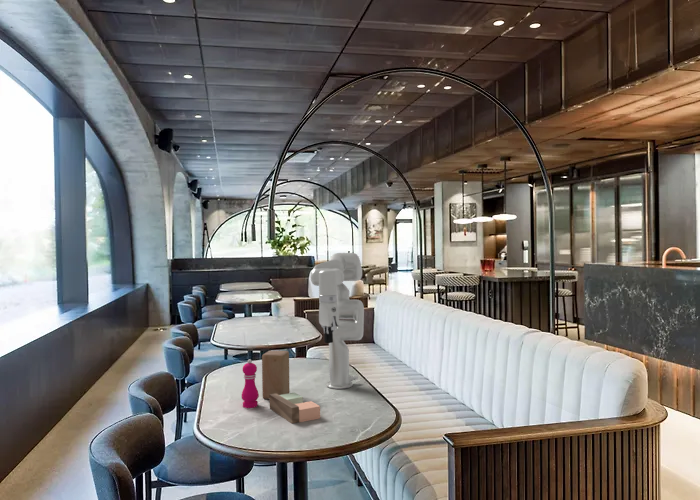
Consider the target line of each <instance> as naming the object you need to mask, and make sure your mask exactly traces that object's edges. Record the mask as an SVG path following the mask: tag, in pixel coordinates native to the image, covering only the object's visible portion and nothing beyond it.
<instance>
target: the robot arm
mask: <svg viewBox="0 0 700 500" xmlns="http://www.w3.org/2000/svg"><path fill="white" fill-rule="evenodd" d="M362 277H363V268H362V263H361V259H360V257H359V256H358V254H357V253H355V252H337V253H333V254H332V255H331V256H330V258H329V259H328V260H326V261H324V262H321V263H318V264H316V265H314V267H313V269H312V270H311V273H310V281H311V284H312V285H313V286H316V287H317V286H318V289H319V290H318V300H319V302H318V303H319V307H318V323H319V324H320V326H321V328H322V329H323V334H324V337H323V338H324V340H323V341H324V343H325V344H328V349H329V350H328V352H329V353H328V359H329V367H328V368H329V369H328V370H329V371H328V372H329V381H327V382H326V387H327V388H329V389H333V390H334V389H335V390H336V389H337V390H343V389H349V388H352V387H353V384H354V383H353V381H356V380H358V379H359V376H358V375H350V349H349V347H348V345H347V344H346V342H345V341H360V340H362V339H363V337H364V324H365V323H364V322H365V308H364V307H365V306H364V303H363V302H362V301H361V299H360V300H359V299H350V289H349V288H348V286H346V284H345V283H343V282H358V281H360V280H361V279H362Z"/></svg>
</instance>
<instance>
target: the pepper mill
mask: <svg viewBox="0 0 700 500" xmlns="http://www.w3.org/2000/svg"><path fill="white" fill-rule="evenodd" d="M257 371H258V366H257V365H256V364H255V363H254V362H252V359H251V358H250V359H248V360H247V363H245V364H244V365H243V366H242V373H243V378H244V386H243V389H242V391H241V399H242V401H243V402H242V407H243V408H244V409H254V408H257V407H258V405H259V404H258V403H259V402H258V399H259V397H260V395H259V390H258V388H257V386H256V381H255V380H256V378H257V377H256V376H257V374H256V373H257Z"/></svg>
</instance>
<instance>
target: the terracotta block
mask: <svg viewBox="0 0 700 500" xmlns="http://www.w3.org/2000/svg"><path fill="white" fill-rule="evenodd" d="M295 405H297V406H299V422H298V423H303V422H308V421H314V420H319V419H321V406H320V405H319V404H317V403H315V402H314V401H311V400H310V401H305V402H304V401H303V403H298V404H295Z"/></svg>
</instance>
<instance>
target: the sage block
mask: <svg viewBox="0 0 700 500" xmlns="http://www.w3.org/2000/svg"><path fill="white" fill-rule="evenodd" d="M280 396H281V397H283V398H285V399H287V400H288V401H290V402H292V403H293V404H298V403H304V396H302V395H300V394H298V393H297V392H290V393H288V394H282V395H280Z"/></svg>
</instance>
